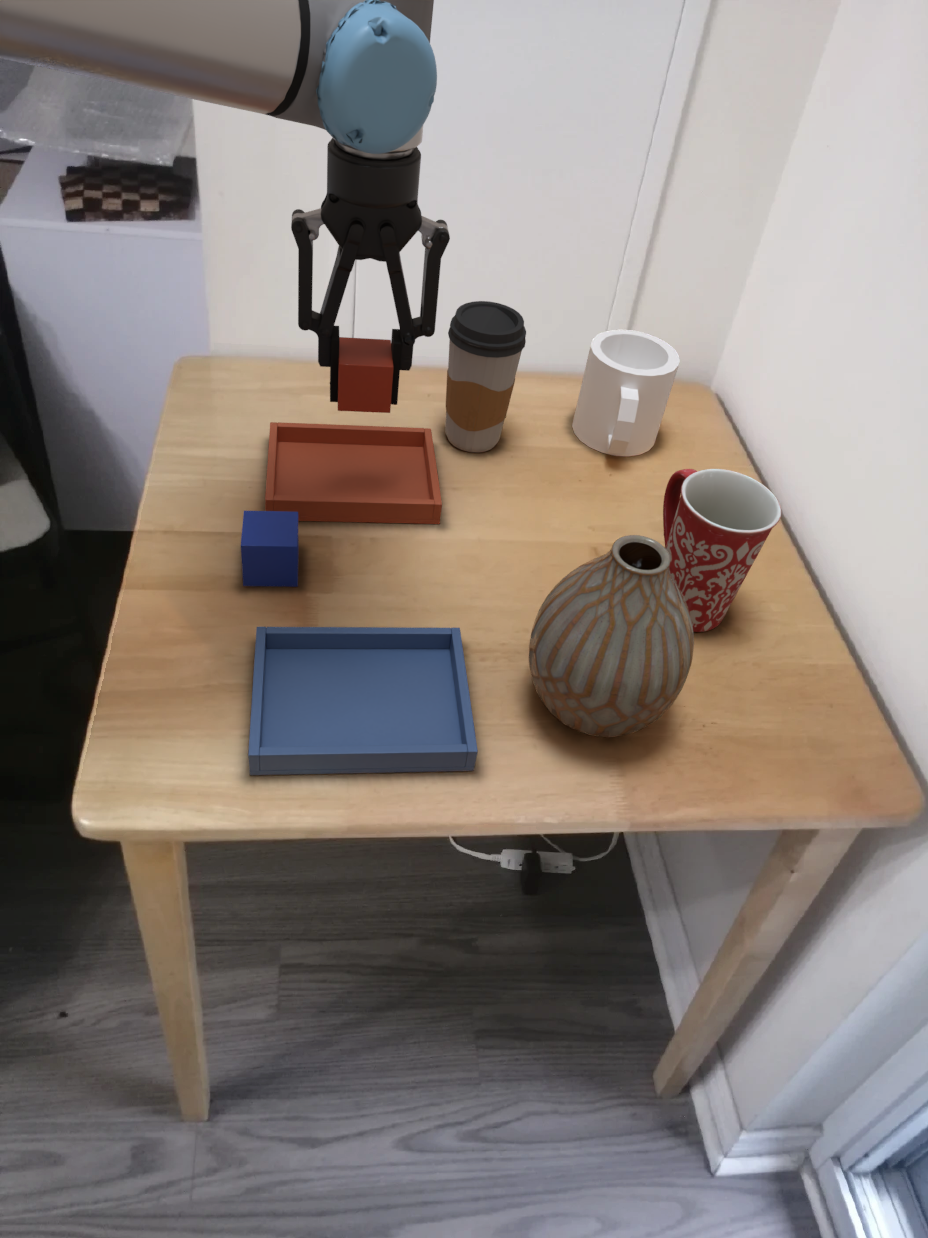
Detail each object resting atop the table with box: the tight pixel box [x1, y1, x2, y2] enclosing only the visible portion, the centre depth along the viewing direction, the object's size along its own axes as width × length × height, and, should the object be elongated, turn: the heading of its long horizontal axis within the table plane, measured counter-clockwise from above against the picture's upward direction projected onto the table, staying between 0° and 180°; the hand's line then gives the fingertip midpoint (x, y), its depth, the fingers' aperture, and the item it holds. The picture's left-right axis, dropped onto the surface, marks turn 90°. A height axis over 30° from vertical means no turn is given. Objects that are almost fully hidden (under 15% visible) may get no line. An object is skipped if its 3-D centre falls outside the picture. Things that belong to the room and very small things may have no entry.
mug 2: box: [662, 468, 782, 633], centre depth 89 cm, size 13×9×14 cm
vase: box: [528, 534, 695, 738], centre depth 76 cm, size 13×13×18 cm
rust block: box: [337, 336, 393, 414], centre depth 90 cm, size 5×5×5 cm
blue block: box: [240, 509, 300, 588], centre depth 87 cm, size 5×5×5 cm
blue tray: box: [247, 626, 479, 776], centre depth 78 cm, size 18×14×3 cm
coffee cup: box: [444, 300, 527, 453], centre depth 103 cm, size 8×8×15 cm
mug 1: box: [571, 328, 680, 457], centre depth 108 cm, size 14×10×11 cm
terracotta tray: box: [264, 421, 443, 525], centre depth 99 cm, size 18×14×3 cm
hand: (363, 395), depth 91 cm, fingers closed on rust block, 5 cm apart
